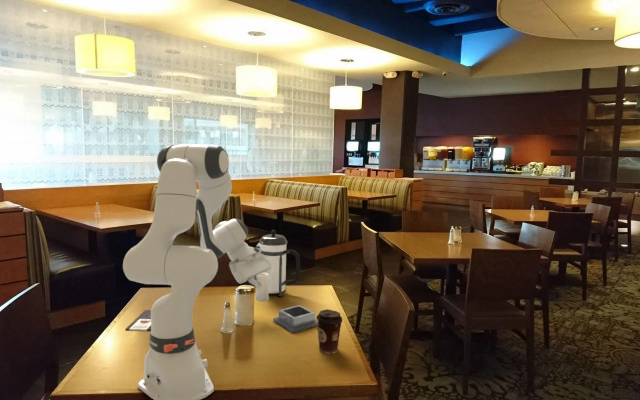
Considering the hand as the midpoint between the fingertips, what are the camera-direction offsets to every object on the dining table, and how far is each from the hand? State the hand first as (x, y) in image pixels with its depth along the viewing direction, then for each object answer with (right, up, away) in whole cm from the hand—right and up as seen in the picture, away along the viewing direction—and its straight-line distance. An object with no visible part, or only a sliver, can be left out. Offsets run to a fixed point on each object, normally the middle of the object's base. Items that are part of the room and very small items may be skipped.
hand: (263, 284), depth 163 cm
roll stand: (+13, -15, -1) cm, 19 cm away
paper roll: (-1, -6, +1) cm, 6 cm away
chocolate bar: (-44, -14, -2) cm, 46 cm away
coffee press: (+1, -11, +33) cm, 35 cm away
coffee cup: (+25, -18, -22) cm, 37 cm away
